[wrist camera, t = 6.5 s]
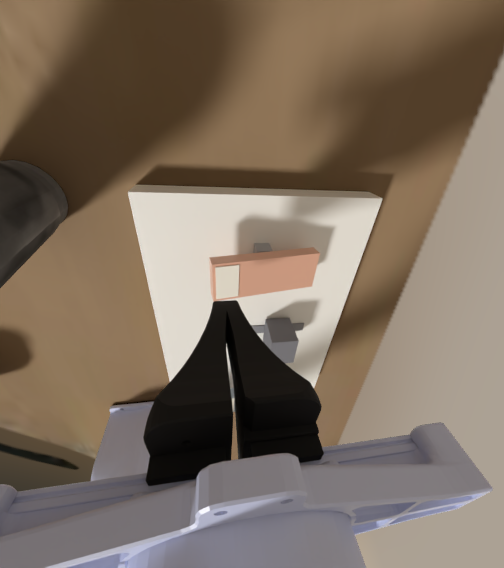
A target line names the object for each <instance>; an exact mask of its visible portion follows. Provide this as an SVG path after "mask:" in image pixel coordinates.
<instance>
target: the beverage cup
mask: <svg viewBox="0 0 504 568" xmlns="http://www.w3.org/2000/svg"><path fill="white" fill-rule="evenodd" d="M67 211H68V204H67V199H66V196H65V194H64V192H63V191H62V189H61V187H60V186H59V185H58V184H57V182H56V181H55V180H54V179H53V178H52V177H51V176H50V175H48V174H47V173H45V172H44V171H43V170H41V169H40V168H38V167H36V166H33V165H31V164H29V163H26V162H22V161H16V160H8V161H0V288H1V287H2V286H3V285H4V284H5V283H6V282H7V281H8V280H9V279H10V278H11V277H12V275H13V274H14V273H15V272H16V271H17V270H18V269H19V268H20V267H21V266H22V265H23V264H24V263H25V262H26V261H27V260H28V259H29V258H30V257H31V256H32V255H33V254H34V253H35V252H36V251H37V250H38V248H39V247H40V246H41V245H42V244H43V243H44V242H45V241H46V240H47V239H48V238H49V237H50V236H51V235H52V234H53V233H54V232H55V230H56V229H57V227H58V226H59V224H60V223H62V222H63V220H64V219H65V217H66V216H67Z"/></svg>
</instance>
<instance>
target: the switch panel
mask: <svg viewBox="0 0 504 568" xmlns="http://www.w3.org/2000/svg"><path fill="white" fill-rule="evenodd" d="M128 195H129V200H130V204H131V209H132V213H133V218H134V222H135V227H136V231H137V236H138V240H139V245H140V249H141V254H142V258H143V263H144V267H145V272H146V276H147V281H148V285H149V290H150V294H151V299H152V303H153V308H154V312H155V317H156V321H157V326H158V330H159V335H160V339H161V344H162V348H163V353H164V357H165V362H166V366H167V371H168V375H169V380H170V382H171V380H172V379H173V378H174V377H175V376H176V374H177V373H178V372H179V371H180V369H181V368H182V367H183V365H184V364H185V363H186V361H187V360H188V358H189V357H190V355H191V354H192V352H193V350H194V349H195V347H196V345H197V344H198V342H199V340H200V338H201V336H202V334H203V332H204V330H205V327H206V325H207V322H208V320H209V317H210V314H211V310H212V305H213V302H214V301H213V299H212V295H211V285H210V262H209V257H219V256H229V255H239V254H250V253H260V252H270V251H280V250H291V249H301V248H311V247H314V248H315V249H316V250H317V251H318V252H319V253H320V256H319V260H318V264H317V268H316V272H315V276H314V280H313V284H312V287H305V288H298V289H292V290H285V291H279V292H272V293H266V294H259V295H253V296H246V297H240V298H233V299H226V300H220V301H231V300H237V301H238V303H239V305H240V308H241V310H242V312H243V313H244V315H245V317H246V319H247V320H248V322H249V323H250V325H251V326H252V328H253V329H254V331H255V332H256V333H257V335H258V336H259V337H260V338H261V340H262V341H263V335H264V327H265V320H266V319H274V318H290V320H291V323H292V325H293V328H294V330H295V333H296V335H297V338H298V340H299V342H298V346H297V350H296V354H295V358H294V362H293V363H285V364H286V365H287V366H289V367H290V368H291V369H292V370H294V371H295V372H296V373H298V374H299V375H301V376H302V377H304V378H305V379H306V380H308V381H309V382H310V383H311V385H312V386H313V388H314V387H315V384H316V381H317V379H318V376H319V373H320V370H321V368H322V365H323V362H324V359H325V357H326V354H327V351H328V348H329V346H330V343H331V340H332V337H333V335H334V332H335V329H336V326H337V324H338V321H339V318H340V315H341V313H342V310H343V307H344V304H345V301H346V299H347V296H348V293H349V290H350V288H351V285H352V282H353V279H354V277H355V274H356V271H357V268H358V266H359V263H360V260H361V257H362V255H363V252H364V249H365V246H366V244H367V241H368V238H369V235H370V233H371V230H372V227H373V224H374V222H375V219H376V216H377V213H378V211H379V208H380V205H381V202H382V200H383V198H381V197H379V196H377V195H374V194H372V193H370V192H362V191H329V190H296V189H263V188H231V187H198V186H165V185H135V186H134V187H132V188H131V189H130V190H129V191H128ZM226 353H227V363H228V372H229V381H230V388H234V387H233V379H232V372H231V367H230V361H229V355H228V349H227V343H226Z"/></svg>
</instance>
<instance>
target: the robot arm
mask: <svg viewBox="0 0 504 568" xmlns="http://www.w3.org/2000/svg"><path fill="white" fill-rule="evenodd" d="M226 343H227V349H228V355H229V361H230V367H231V372H232V379H233V387H234V400H235V414H236V429H237V444H238V459H237V460H231V446H232V428H233V408H232V398H231V390H230V381H229V372H228V363H227V353H226ZM320 411H321V404H320V401H319V398H318V396H317V394H316V392H315V390H314V388H313V386H312V385H311V383H310V382H309V381H308V380H306V379H305V378H304V377H302V376H301V375H299V374H298V373H296V372H295V371H294V370H292V369H291V368H290V367H289V366H287V365H286V364H285V363H284V362H283V361H282V360H281V359H280V358H279V357H277V356H276V355H275V354H274V353H273V352H272V351H271V350H270V349H269V348H268V346H267V345H266V344H265V343H264V342H263V341H262V340H261V338H260V337H259V336H258V335H257V333H256V332H255V331H254V329H253V328H252V326H251V325H250V323H249V322H248V320H247V319H246V317H245V315H244V313H243V312H242V310H241V308H240V305H239V303H238V301H237V300H231V301H214V302H213V305H212V310H211V314H210V317H209V320H208V322H207V325H206V327H205V330H204V332H203V334H202V336H201V338H200V340H199V342H198V344H197V345H196V347H195V349H194V350H193V352H192V354H191V355H190V357H189V358H188V360H187V361H186V363H185V364H184V365H183V367H182V368H181V369H180V371H179V372H178V373H177V374H176V376H175V377H174V378H173V379H172V380H171V382H170V383H169V384H168V385H167V386H166V387H165V388H164V389H163V390H162V391H161V392H160V394H159V395H158V396H157V397H156V399H155V401H153V402H143V403H133V404H124V405H114V406H111V407H110V412H111V414H110V417H109V420H108V423H107V426H106V429H105V432H104V435H103V439H102V442H101V445H100V448H99V451H98V454H97V457H96V460H95V463H94V467H93V471H92V477H91V481H89V482H81V483H75V484H68V485H61V486H55V487H47V488H40V489H33V490H27V491H20V492H17V491H16V490H15V489H14V487H12V486H9V485H4V484H0V568H366V566H365V563H364V560H363V557H362V555H361V552H360V549H359V546H358V543H357V540H356V537H355V535H357V534H360V533H364V532H368V531H371V530H375V529H379V528H383V527H386V526H390V525H394V524H397V523H401V522H405V521H408V520H413V519H416V518H420V517H425V516H429V515H432V514H437V513H442V512H446V511H450V510H455V509H458V508H460V507H462V506H464V505H466V504H468V503H470V502H472V501H473V500H475V499H477V498H479V497H481V496H483V495H485V494H487V493H489V492H491V491H492V490H493V489H492V487H491V485H490V484H489V482H488V481H487V480H486V479H485V477H484V476H483V475H482V473H481V472H480V471H479V469H478V468H477V467H476V465H475V464H474V463H473V462H472V460H471V459H470V458H469V456H468V455H467V454H466V453H465V451H464V450H463V448H462V447H461V446H460V444H459V443H458V442H457V441H456V439H455V438H454V437H453V435H452V434H451V433H450V431H449V430H448V429H447V427H446V426H445V425H444V423H441V422H440V423H432V424H425V425H420V426H418V427H416V428H415V429H413V430H412V431H411V433H410V435H404V436H397V437H390V438H383V439H376V440H369V441H362V442H355V443H349V444H342V445H335V446H328V447H322V446H321V443H320V440H319V437H318V433H319V430H318V427H317V424H316V420H317V418H318V416H319V413H320Z"/></svg>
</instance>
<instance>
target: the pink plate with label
mask: <svg viewBox="0 0 504 568" xmlns="http://www.w3.org/2000/svg"><path fill="white" fill-rule="evenodd" d="M319 256H320V253H319V252H318V251H317V250H316V249H315V248H314V247H311V248H301V249H291V250H280V251H270V252H260V253H250V254H239V255H229V256H219V257H209V262H210V285H211V295H212V299H213V301H220V300H226V299H233V298H240V297H246V296H253V295H259V294H266V293H272V292H279V291H285V290H292V289H298V288H305V287H312V284H313V280H314V276H315V272H316V268H317V264H318V260H319Z"/></svg>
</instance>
